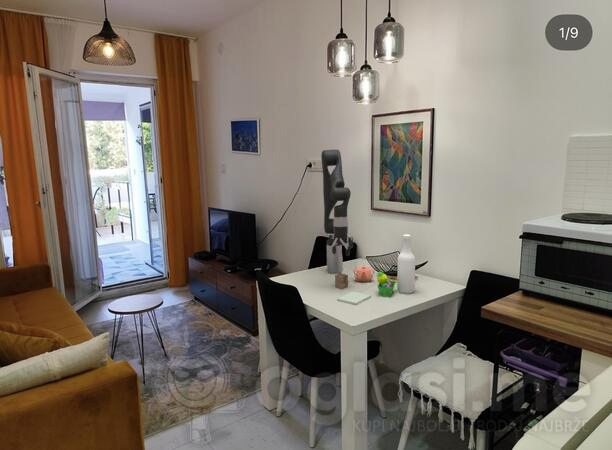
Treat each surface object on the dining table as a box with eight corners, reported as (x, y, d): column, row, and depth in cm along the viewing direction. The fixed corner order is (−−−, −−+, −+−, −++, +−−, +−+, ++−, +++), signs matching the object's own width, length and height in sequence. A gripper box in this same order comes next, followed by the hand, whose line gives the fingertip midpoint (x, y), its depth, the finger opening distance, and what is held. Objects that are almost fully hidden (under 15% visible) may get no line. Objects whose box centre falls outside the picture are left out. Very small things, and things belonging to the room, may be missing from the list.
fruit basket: (392, 297, 205) (392, 275, 203) (374, 296, 208) (374, 274, 206) (395, 290, 215) (396, 270, 214) (378, 289, 219) (379, 268, 217)
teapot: (374, 277, 241) (374, 263, 240) (374, 284, 227) (374, 270, 225) (353, 277, 243) (353, 263, 242) (352, 284, 228) (352, 269, 227)
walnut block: (340, 285, 227) (340, 273, 226) (348, 287, 223) (347, 274, 222) (335, 287, 223) (335, 275, 222) (342, 289, 220) (342, 276, 219)
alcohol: (395, 293, 212) (396, 235, 207) (398, 288, 220) (399, 233, 215) (413, 294, 208) (414, 236, 204) (415, 289, 217) (416, 233, 212)
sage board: (352, 293, 213) (352, 291, 213) (371, 297, 206) (371, 295, 206) (337, 300, 202) (337, 298, 202) (356, 305, 195) (356, 303, 195)
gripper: (355, 225, 216) (355, 255, 219) (334, 223, 225) (334, 252, 228) (347, 227, 211) (347, 257, 213) (325, 224, 220) (326, 254, 222)
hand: (340, 254), depth 220 cm, fingers open, 8 cm apart
